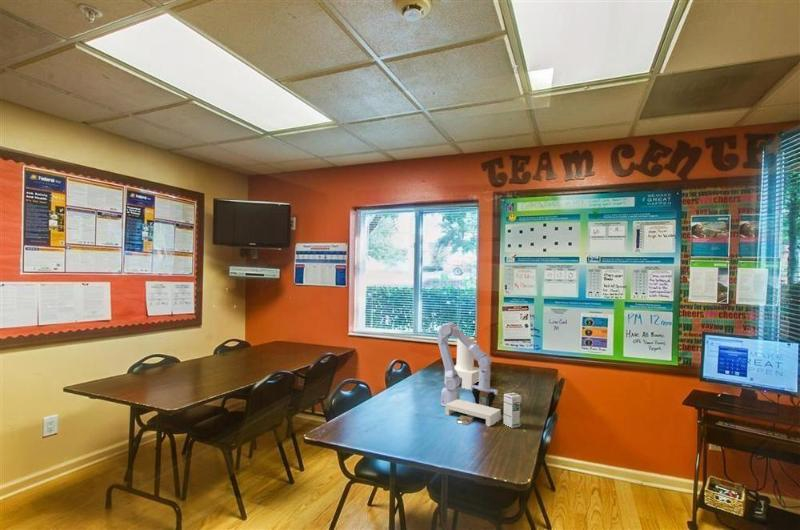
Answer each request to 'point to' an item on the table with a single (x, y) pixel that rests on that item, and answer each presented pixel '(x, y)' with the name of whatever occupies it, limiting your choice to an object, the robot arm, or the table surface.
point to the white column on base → (466, 365)
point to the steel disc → (462, 421)
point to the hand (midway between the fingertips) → (483, 405)
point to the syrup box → (512, 410)
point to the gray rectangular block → (483, 402)
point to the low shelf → (474, 410)
